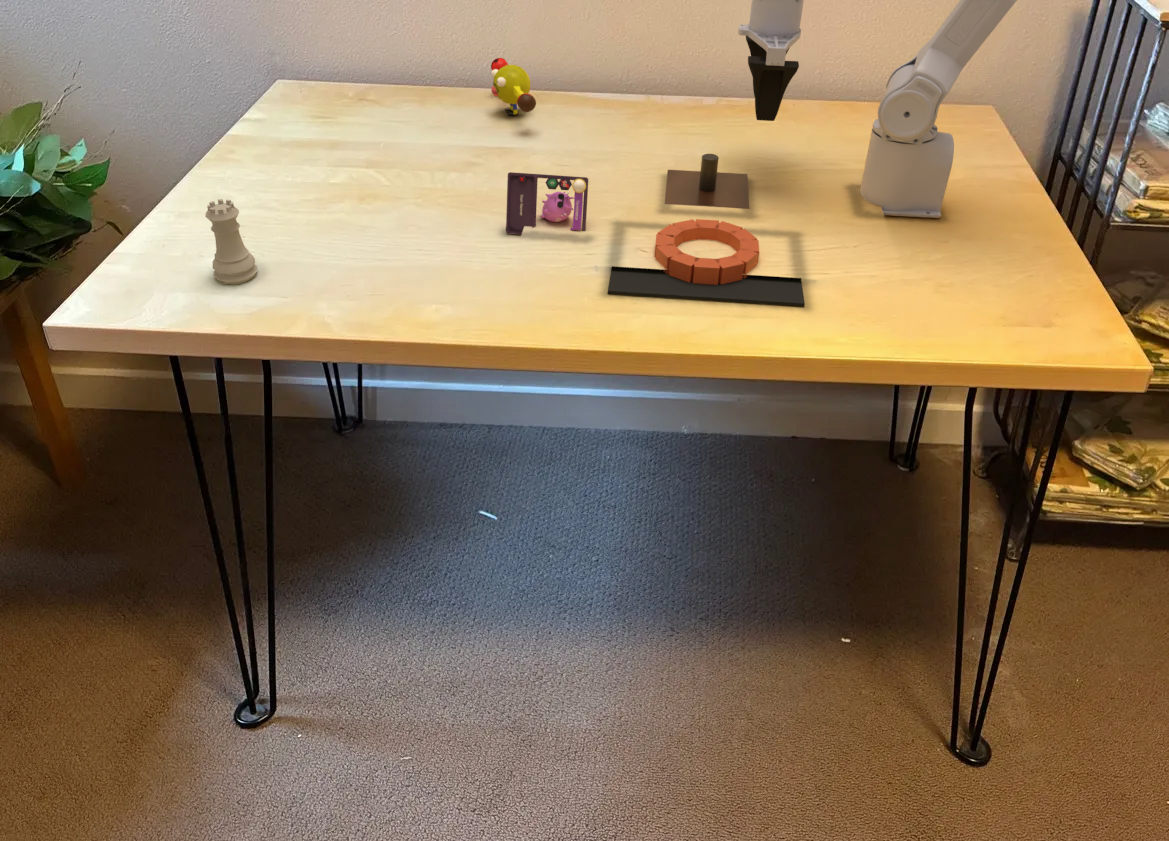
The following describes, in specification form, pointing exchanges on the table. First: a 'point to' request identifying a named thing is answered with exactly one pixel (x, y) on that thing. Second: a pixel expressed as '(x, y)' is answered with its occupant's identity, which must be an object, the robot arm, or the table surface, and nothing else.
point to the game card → (554, 208)
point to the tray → (706, 287)
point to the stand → (707, 186)
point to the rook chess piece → (229, 245)
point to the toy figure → (512, 86)
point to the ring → (706, 267)
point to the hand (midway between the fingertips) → (763, 107)
